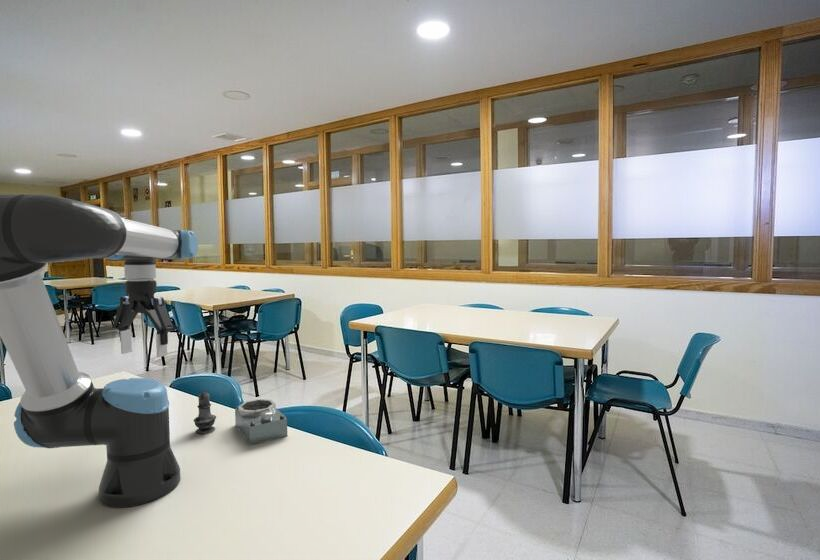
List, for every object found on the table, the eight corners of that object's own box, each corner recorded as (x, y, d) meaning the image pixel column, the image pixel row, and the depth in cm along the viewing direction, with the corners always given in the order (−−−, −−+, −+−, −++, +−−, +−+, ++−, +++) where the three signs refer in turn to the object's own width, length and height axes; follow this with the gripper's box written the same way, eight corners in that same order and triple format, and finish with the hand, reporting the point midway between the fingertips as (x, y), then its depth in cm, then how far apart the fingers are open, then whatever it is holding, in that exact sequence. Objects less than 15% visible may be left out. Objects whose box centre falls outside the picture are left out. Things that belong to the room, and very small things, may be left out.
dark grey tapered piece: (220, 426, 127) (219, 386, 126) (209, 435, 121) (207, 393, 120) (201, 426, 127) (199, 386, 127) (189, 434, 122) (187, 392, 121)
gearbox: (287, 435, 121) (286, 411, 120) (250, 445, 115) (249, 419, 114) (269, 417, 134) (268, 395, 133) (235, 425, 128) (234, 401, 127)
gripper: (186, 279, 122) (188, 354, 123) (121, 278, 130) (124, 348, 131) (162, 281, 115) (165, 360, 116) (96, 280, 123) (99, 354, 124)
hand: (144, 354), depth 123 cm, fingers open, 13 cm apart
